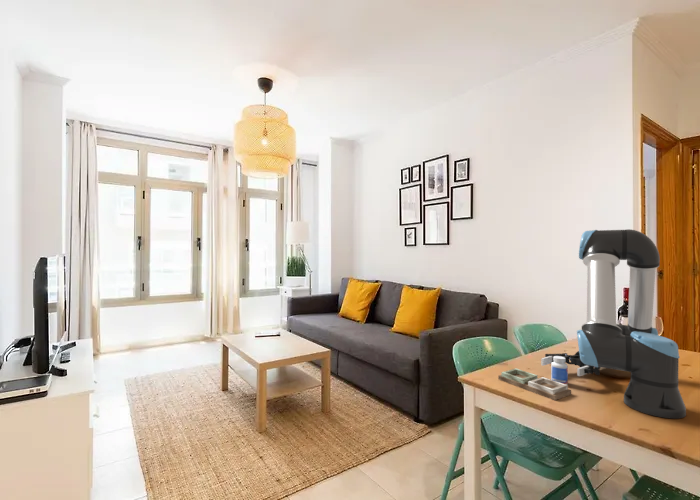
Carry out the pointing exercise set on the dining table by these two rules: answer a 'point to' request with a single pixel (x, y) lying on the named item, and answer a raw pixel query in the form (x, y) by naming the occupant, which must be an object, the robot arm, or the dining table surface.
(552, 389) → the board
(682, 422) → the dining table surface
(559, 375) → the pill bottle
